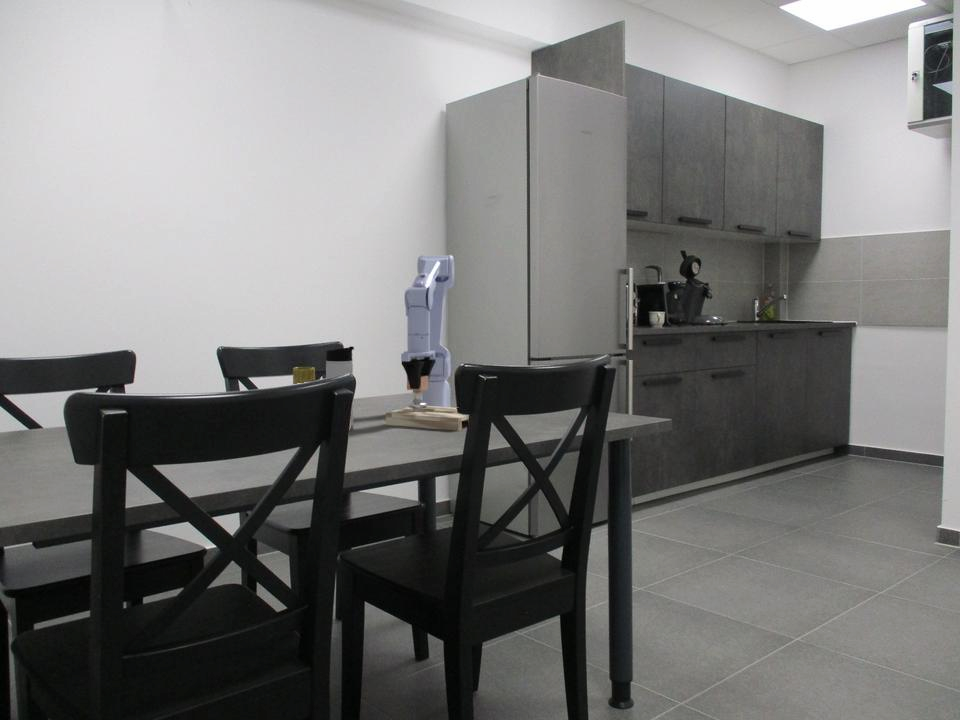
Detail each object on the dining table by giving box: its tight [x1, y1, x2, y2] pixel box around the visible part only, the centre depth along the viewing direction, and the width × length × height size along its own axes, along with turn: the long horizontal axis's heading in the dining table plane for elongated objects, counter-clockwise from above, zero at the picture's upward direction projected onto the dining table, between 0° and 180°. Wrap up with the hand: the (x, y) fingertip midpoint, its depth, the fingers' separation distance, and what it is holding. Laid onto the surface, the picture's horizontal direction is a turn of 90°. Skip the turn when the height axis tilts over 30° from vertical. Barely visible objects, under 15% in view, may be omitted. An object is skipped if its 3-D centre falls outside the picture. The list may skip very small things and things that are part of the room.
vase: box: [292, 366, 316, 385], centre depth 198 cm, size 6×6×14 cm
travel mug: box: [325, 346, 355, 431], centre depth 191 cm, size 6×7×20 cm
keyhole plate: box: [385, 406, 469, 432], centre depth 203 cm, size 16×20×3 cm
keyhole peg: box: [406, 375, 428, 408], centre depth 205 cm, size 5×5×8 cm
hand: (418, 387), depth 204 cm, fingers closed on keyhole peg, 4 cm apart
